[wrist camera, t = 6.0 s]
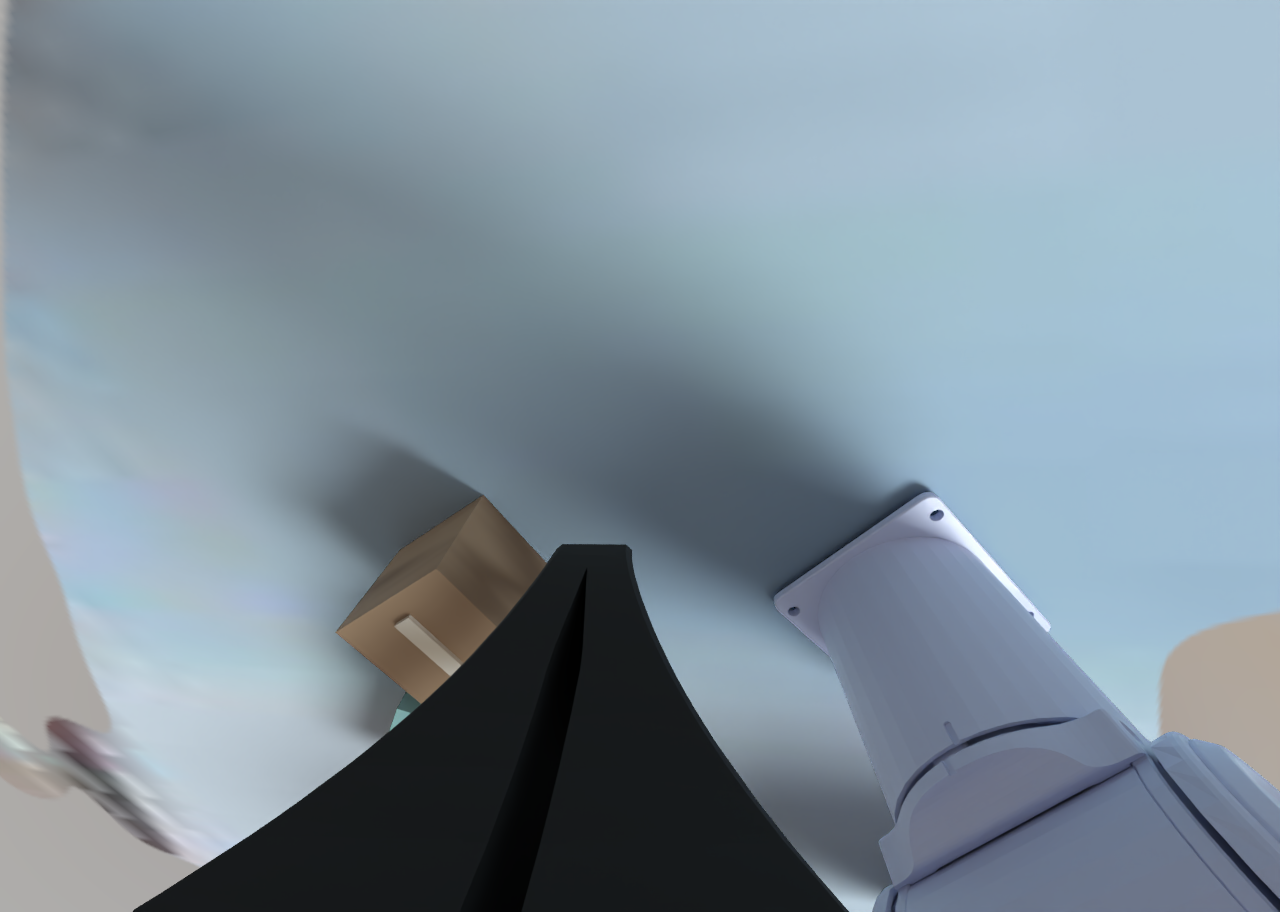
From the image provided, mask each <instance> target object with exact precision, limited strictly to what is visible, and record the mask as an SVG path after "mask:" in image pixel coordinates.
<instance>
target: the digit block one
mask: <svg viewBox="0 0 1280 912" xmlns="http://www.w3.org/2000/svg"><path fill="white" fill-rule="evenodd" d="M546 564H547V563H546V562H545V561H544V560H543V559H542V557H541V556H540V555H539V554H538V553H537V552H536V551H535V550H534V549H533V548H532V547H531V546H530V545H529V543H528V542H527V541H526V540H525V539H524V538H523V537H522V536H521V535H520V534H519V533H518V532H517V531H516V529H515V528H514V527H513V526H512V525H511V524H510V523H509V522H508V521H507V520H506V519H505V518H504V517H503V515H502V514H501V513H500V512H499V511H498V510H497V509H496V508H495V507H494V506H493V505H492V504H491V503H490V501H489V500H488V499H487V498H486V497H485V496H484V495H482V496H481V497H479V498H478V499H476V500H475V501H473V502H472V503H470V504H469V505H467V506H466V507H464V508H463V509H461V510H460V511H458V512H457V513H455V514H454V515H452V516H451V517H449V518H448V519H446V520H445V521H443V522H442V523H440V524H439V525H437V526H436V527H434V528H433V529H431V530H430V531H428V532H427V533H425V534H424V535H422V536H420V537H419V538H417V539H416V540H414V541H413V542H411V543H410V544H408V545H407V546H405V547H404V548H402V549H401V550H399V552H398V553H397V554H396V555H395V557H394V558H393V559H392V561H391V562H390V563H389V564H388V566H387V567H386V568H385V570H384V571H383V572H382V573H381V575H380V576H379V577H378V579H377V580H376V581H375V582H374V584H373V585H372V586H371V588H370V589H369V590H368V591H367V593H366V594H365V595H364V597H363V598H362V599H361V600H360V602H359V603H358V604H357V605H356V607H355V608H354V609H353V611H352V612H351V613H350V614H349V616H348V617H347V618H346V620H345V621H344V622H343V623H342V625H341V626H340V627H339V629H338V630H337V631H336V633H337V634H338V635H339V636H340V637H342V638H343V639H344V640H345V641H346V642H348V643H349V644H350V645H351V646H352V647H354V648H355V649H356V650H357V651H358V652H360V653H361V654H362V655H363V656H364V657H366V658H367V659H368V660H369V661H370V662H372V663H373V664H374V665H375V666H376V667H378V668H379V669H380V670H381V671H382V672H384V673H385V674H386V675H387V676H388V677H390V678H391V679H392V680H393V681H394V682H396V683H397V684H398V685H399V686H400V687H402V688H403V689H404V690H405V691H406V692H407V693H409V694H410V695H411V696H412V697H413V698H415V699H416V700H417V701H418V702H419V703H421V704H422V703H423V702H424V701H425V700H426V699H427V698H428V697H429V696H430V695H431V694H432V693H433V692H434V691H436V690H437V689H438V688H439V687H440V686H441V685H442V684H443V683H444V682H445V681H446V680H447V679H448V678H449V677H450V676H451V675H452V674H453V673H454V672H455V671H456V670H457V669H458V668H459V667H460V666H461V665H462V664H463V663H464V662H465V661H466V660H467V659H468V658H469V657H470V656H471V655H472V654H473V653H474V651H475V650H476V649H477V648H478V647H479V646H480V645H481V644H482V643H483V642H484V640H485V639H486V638H487V637H488V636H489V635H490V634H491V633H492V632H493V631H494V629H495V628H496V627H497V626H498V625H499V624H500V623H501V622H502V620H503V619H504V618H505V617H506V616H507V614H508V613H509V612H510V611H511V609H512V608H513V607H514V606H515V605H516V603H517V602H518V601H519V600H520V598H521V597H522V596H523V595H524V593H525V592H526V591H527V590H528V588H529V587H530V586H531V584H532V583H533V582H534V580H535V579H536V578H537V576H538V575H539V574H540V572H541V571H542V570H543V568H544V567H545V565H546Z"/></svg>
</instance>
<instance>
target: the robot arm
mask: <svg viewBox="0 0 1280 912" xmlns="http://www.w3.org/2000/svg"><path fill="white" fill-rule="evenodd" d="M935 510H939V511H938V513H937V514H936V515H933V516H930V514H931V513H932V512H933V511H935ZM774 605H775V608H776V609H777V611H779V612H780V613H781V614H782V615H783V616H784V617H785V618H786V619H788V620H789V621H790V622H791V623H792V624H793V625H794V626H796V627H797V628H798V629H799V630H800V631H801V632H802V633H803V634H805V635H806V636H807V637H808V638H809V639H810V640H811V641H812V642H814V643H815V644H816V645H817V646H818V647H819V648H820V649H821V650H823V651H824V652H825V653H826V654H827V655H828V656H829V657H830V658H831V659H832V662H833V665H834V667H835V670H836V672H837V675H838V678H839V680H840V683H841V685H842V688H843V691H844V693H845V696H846V698H847V701H848V704H849V706H850V709H851V711H852V714H853V717H854V719H855V722H856V724H857V727H858V730H859V732H860V735H861V737H862V740H863V743H864V745H865V748H866V750H867V753H868V756H869V758H870V761H871V763H872V766H873V769H874V771H875V774H876V776H877V779H878V782H879V784H880V787H881V789H882V792H883V795H884V797H885V800H886V802H887V805H888V808H889V810H890V813H891V815H892V818H893V821H894V823H895V826H894V828H893V829H892V830H891V831H890V832H889V833H888V834H887V835H885V836H884V837H882V838H881V839H880V840H879V841H878V843H879V846H880V849H881V852H882V855H883V857H884V860H885V863H886V866H887V869H888V872H889V875H890V878H891V880H892V883H893V884H892V885H890V886H888V887H886V888H884V889H883V891H882V892H881V893H880V895H879V896H878V897H877V899H876V901H875V904H874V907H873V911H872V912H1280V791H1279V790H1278V789H1276V788H1275V787H1274V786H1273V785H1272V784H1270V783H1269V782H1268V781H1267V780H1266V779H1264V778H1263V777H1262V776H1261V775H1260V774H1258V773H1257V772H1256V771H1255V770H1253V769H1252V768H1251V767H1250V766H1249V765H1248V764H1246V763H1245V762H1244V761H1243V760H1241V759H1240V758H1239V757H1238V756H1236V755H1235V754H1233V753H1232V752H1231V751H1229V750H1228V749H1227V748H1225V747H1223V746H1221V745H1218V744H1214V743H1209V742H1205V741H1201V740H1197V739H1192V740H1191V739H1189V738H1188V737H1186V736H1185V735H1183V734H1180V733H1177V732H1169V733H1166V734H1164V735H1162V736H1161V737H1159V738H1157V739H1155V740H1154V741H1152V743H1151V742H1150V741H1149V740H1147V739H1146V738H1145V737H1144V736H1143V735H1142V734H1141V733H1140V732H1139V731H1138V730H1137V729H1136V727H1135V726H1134V725H1133V724H1132V723H1131V722H1130V721H1129V720H1128V719H1127V718H1126V717H1125V716H1124V714H1123V713H1122V712H1121V711H1120V710H1119V709H1118V708H1117V707H1116V706H1115V705H1114V704H1113V703H1112V702H1111V700H1110V699H1109V698H1108V697H1107V696H1106V695H1105V694H1104V693H1103V692H1102V691H1101V690H1100V689H1099V687H1098V686H1097V685H1096V684H1095V683H1094V682H1093V681H1092V680H1091V679H1090V678H1089V677H1088V676H1087V675H1086V673H1085V672H1084V671H1083V670H1082V669H1081V668H1080V667H1079V666H1078V665H1077V664H1076V663H1075V662H1074V661H1073V659H1072V658H1071V657H1070V656H1069V655H1068V654H1067V653H1066V652H1065V651H1064V650H1063V649H1062V648H1061V646H1060V645H1059V644H1058V643H1057V642H1056V641H1055V640H1054V639H1053V638H1052V637H1051V636H1050V635H1049V634H1048V631H1049V630H1050V626H1051V625H1050V623H1049V621H1048V620H1047V619H1046V618H1045V617H1044V616H1043V615H1042V613H1041V612H1040V611H1039V610H1038V609H1037V608H1036V607H1035V606H1034V604H1033V603H1032V602H1031V601H1030V600H1029V599H1028V598H1027V596H1026V595H1025V594H1024V593H1023V592H1022V591H1021V590H1020V589H1019V587H1018V586H1017V585H1016V584H1015V583H1014V582H1013V581H1012V579H1011V578H1010V577H1009V576H1008V575H1007V574H1006V573H1005V572H1004V570H1003V569H1002V568H1001V567H1000V566H999V565H998V564H997V562H996V561H995V560H994V559H993V558H992V557H991V556H990V555H989V553H988V552H987V551H986V550H985V549H984V548H983V547H982V545H981V544H980V543H979V542H978V541H977V540H976V539H975V538H974V536H973V535H972V534H971V533H970V532H969V531H968V530H967V528H966V527H965V526H964V525H963V524H962V523H961V522H960V521H959V519H958V518H957V517H956V516H955V515H954V514H953V513H952V511H951V510H950V509H949V508H948V507H947V506H946V505H945V503H944V502H943V501H942V500H941V499H940V498H939V497H938V496H937V495H936V494H934V493H932V492H924V493H922V494H920V495H918V496H916V497H915V498H914V499H912V500H911V501H909V502H908V503H906V504H905V505H903V506H902V507H901V508H899V509H898V510H896V511H895V512H893V513H892V514H891V515H889V516H888V517H886V518H885V519H883V520H882V521H880V522H879V523H878V524H876V525H875V526H873V527H872V528H870V529H869V530H868V531H866V532H865V533H863V534H862V535H860V536H859V537H857V538H856V539H855V540H853V541H852V542H850V543H849V544H847V545H846V546H845V547H843V548H842V549H840V550H839V551H837V552H836V553H834V554H833V555H832V556H830V557H829V558H827V559H826V560H824V561H823V562H822V563H820V564H819V565H817V566H816V567H814V568H813V569H811V570H810V571H809V572H807V573H806V574H804V575H803V576H801V577H800V578H799V579H797V580H796V581H794V582H793V583H791V584H790V585H788V586H787V587H786V588H784V589H783V590H781V591H780V592H778V593H777V594H776V595H775V597H774ZM791 607H797V608H796V609H794V610H789V609H790V608H791ZM133 912H849V911H848V910H847V909H846V908H845V907H844V905H843V904H842V903H841V902H840V901H839V900H838V899H837V897H836V896H835V895H834V894H833V893H832V892H831V891H830V889H829V888H828V887H827V886H826V885H825V884H824V883H823V881H822V880H821V879H820V878H819V877H818V876H817V874H816V873H815V872H814V871H813V870H812V868H811V867H810V866H809V865H808V864H807V862H806V861H805V860H804V859H803V858H802V856H801V855H800V854H799V853H798V852H797V850H796V849H795V848H794V847H793V846H792V844H791V843H790V842H789V841H788V840H787V838H786V837H785V836H784V834H783V833H782V832H781V831H780V829H779V828H778V827H777V825H776V824H775V823H774V822H773V820H772V819H771V818H770V817H769V815H768V814H767V813H766V811H765V810H764V809H763V808H762V806H761V805H760V804H759V802H758V801H757V800H756V799H755V797H754V796H753V794H752V793H751V792H750V790H749V789H748V787H747V786H746V784H745V783H744V782H743V780H742V779H741V777H740V776H739V775H738V773H737V772H736V770H735V769H734V768H733V766H732V765H731V763H730V762H729V760H728V759H727V758H726V756H725V755H724V753H723V752H722V751H721V749H720V748H719V746H718V745H717V744H716V742H715V741H714V739H713V737H712V736H711V734H710V733H709V731H708V729H707V728H706V726H705V725H704V723H703V722H702V720H701V718H700V717H699V715H698V714H697V712H696V710H695V709H694V707H693V705H692V703H691V702H690V700H689V698H688V697H687V695H686V693H685V691H684V690H683V688H682V686H681V684H680V682H679V681H678V679H677V677H676V675H675V673H674V671H673V669H672V667H671V665H670V663H669V661H668V659H667V657H666V655H665V653H664V651H663V649H662V647H661V645H660V643H659V640H658V638H657V636H656V633H655V631H654V629H653V627H652V624H651V621H650V619H649V616H648V614H647V611H646V609H645V606H644V603H643V601H642V598H641V595H640V592H639V588H638V585H637V581H636V578H635V574H634V570H633V564H632V550H631V549H630V548H629V547H628V546H627V545H598V544H562V545H561V546H560V547H559V548H557V549H556V551H555V552H554V554H553V555H552V557H551V558H550V560H549V561H548V563H547V564H546V565H545V567H544V568H543V570H542V571H541V572H540V574H539V575H538V576H537V578H536V579H535V580H534V582H533V583H532V584H531V586H530V587H529V588H528V590H527V591H526V592H525V593H524V595H523V596H522V597H521V598H520V600H519V601H518V602H517V603H516V605H515V606H514V607H513V608H512V609H511V611H510V612H509V613H508V614H507V616H506V617H505V618H504V619H503V620H502V622H501V623H500V624H499V625H498V626H497V627H496V628H495V629H494V631H493V632H492V633H491V634H490V635H489V636H488V637H487V638H486V639H485V640H484V642H483V643H482V644H481V645H480V646H479V647H478V648H477V649H476V650H475V651H474V653H473V654H472V655H471V656H470V657H469V658H468V659H467V660H466V661H465V662H464V663H463V664H462V665H461V666H460V667H459V668H458V669H457V670H456V671H455V672H454V673H453V674H452V675H451V676H450V677H449V678H448V679H447V680H446V681H445V682H444V683H443V684H442V685H441V686H440V687H439V688H438V689H437V690H436V691H434V692H433V693H432V694H431V695H430V696H429V697H428V698H427V699H426V700H425V701H424V702H423V703H422V704H420V705H419V706H418V707H417V708H416V709H415V710H414V711H413V712H411V713H410V714H409V715H408V716H407V717H406V718H404V719H403V720H402V721H401V722H400V723H399V724H397V725H396V726H395V727H394V728H393V729H392V730H390V731H389V732H388V733H387V734H386V735H385V736H383V737H382V738H381V739H380V740H379V741H377V742H376V743H375V744H374V745H373V746H371V747H370V748H369V749H368V750H366V751H365V752H364V753H363V754H361V755H360V756H359V757H358V758H356V759H355V760H354V761H353V762H351V763H350V764H349V765H347V766H346V767H345V768H343V769H342V770H341V771H339V772H338V773H337V774H335V775H334V776H333V777H331V778H330V779H328V780H327V781H326V782H324V783H323V784H322V785H320V786H319V787H318V788H316V789H315V790H314V791H312V792H311V793H310V794H308V795H307V796H306V797H304V798H303V799H302V800H300V801H299V802H297V803H296V804H295V805H293V806H292V807H290V808H289V809H288V810H286V811H285V812H283V813H282V814H281V815H279V816H278V817H276V818H275V819H273V820H272V821H270V822H269V823H268V824H266V825H265V826H263V827H262V828H260V829H259V830H257V831H256V832H254V833H253V834H251V835H250V836H249V837H247V838H245V839H244V840H242V841H241V842H239V843H238V844H236V845H235V846H233V847H232V848H230V849H228V850H227V851H225V852H224V853H222V854H221V855H219V856H218V857H216V858H215V859H213V860H211V861H210V862H208V863H207V864H205V865H204V866H202V867H201V868H199V869H198V870H196V871H194V872H193V873H191V874H190V875H188V876H187V877H185V878H184V879H182V880H181V881H179V882H177V883H176V884H174V885H173V886H171V887H170V888H168V889H167V890H165V891H164V892H162V893H161V894H159V895H157V896H156V897H154V898H152V899H151V900H149V901H147V902H146V903H144V904H143V905H141V906H139V907H138V908H136V909H134V911H133Z"/></svg>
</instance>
